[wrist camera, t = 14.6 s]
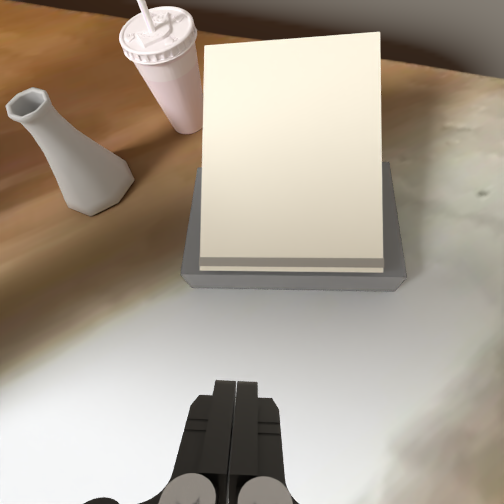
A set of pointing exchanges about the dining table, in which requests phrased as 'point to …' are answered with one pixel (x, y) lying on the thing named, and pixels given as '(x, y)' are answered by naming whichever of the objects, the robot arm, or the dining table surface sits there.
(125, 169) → the flask
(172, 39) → the smoothie
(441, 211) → the dining table surface
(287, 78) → the panel
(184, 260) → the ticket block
